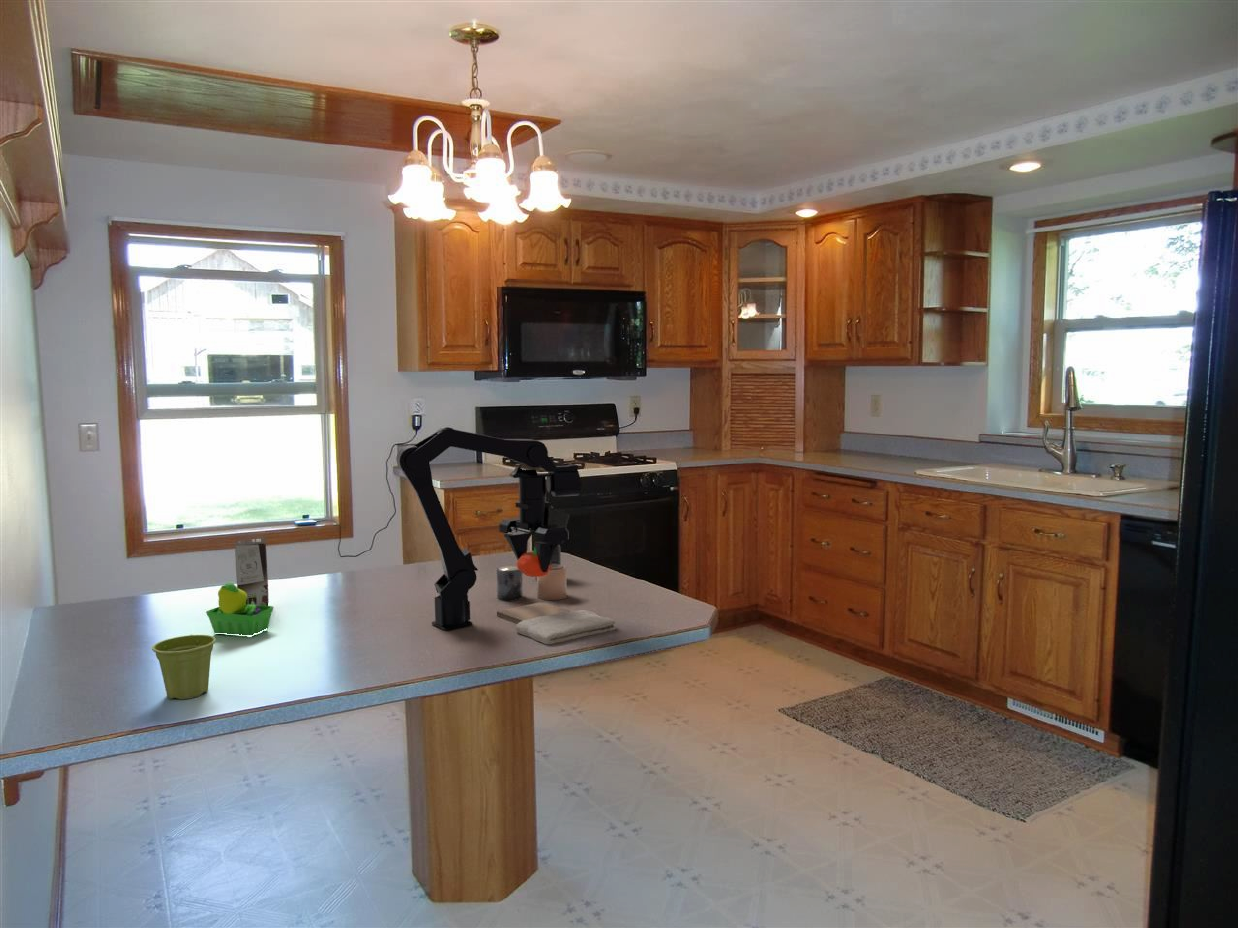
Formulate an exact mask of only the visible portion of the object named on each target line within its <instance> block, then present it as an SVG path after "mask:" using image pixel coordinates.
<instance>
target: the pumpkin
mask: <svg viewBox="0 0 1238 928" xmlns="http://www.w3.org/2000/svg"><path fill="white" fill-rule="evenodd" d="M551 565H552V564H551V562H550V564H549V567H548V570H547V572H542V570H541V567H540V564H539V560H538V556H537V552H536V548H533V551H529V552H528V551H527V553H524V554H523V555H522V556H521V557H520V558H519V560H517V562H516V566H517V567H518V569H519V570H520V571H521V572H522V574H524V575H525V576H527V577H530V578H535V577H541V576H544V575H546V574H548V573H549V571H550V569H551Z"/></svg>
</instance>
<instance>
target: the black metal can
mask: <svg viewBox="0 0 1238 928" xmlns="http://www.w3.org/2000/svg"><path fill="white" fill-rule="evenodd" d="M523 589H524V588H523V573H522V572H521V571H520V570H519V569H518V567H517V565H505V566H499V567H497V568H496V592H497V594H496V596H497V599H498V600H500V601H508V602H510V601H511V602H512V601H518V600H521V599H522V598H523V597H524V596H523V595H524V593H523V591H524V590H523Z"/></svg>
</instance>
